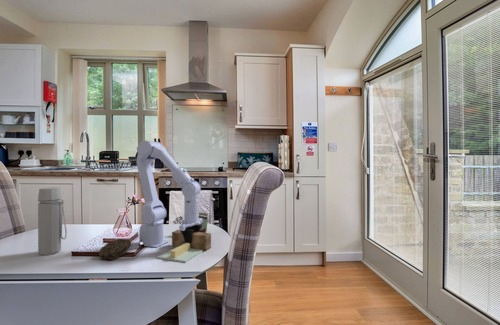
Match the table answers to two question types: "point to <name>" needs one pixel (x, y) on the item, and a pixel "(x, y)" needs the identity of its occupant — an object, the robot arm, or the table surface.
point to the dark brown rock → (114, 249)
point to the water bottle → (50, 221)
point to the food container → (203, 221)
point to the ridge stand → (180, 253)
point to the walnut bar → (193, 240)
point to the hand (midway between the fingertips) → (191, 243)
